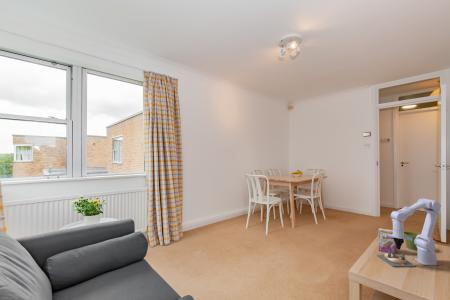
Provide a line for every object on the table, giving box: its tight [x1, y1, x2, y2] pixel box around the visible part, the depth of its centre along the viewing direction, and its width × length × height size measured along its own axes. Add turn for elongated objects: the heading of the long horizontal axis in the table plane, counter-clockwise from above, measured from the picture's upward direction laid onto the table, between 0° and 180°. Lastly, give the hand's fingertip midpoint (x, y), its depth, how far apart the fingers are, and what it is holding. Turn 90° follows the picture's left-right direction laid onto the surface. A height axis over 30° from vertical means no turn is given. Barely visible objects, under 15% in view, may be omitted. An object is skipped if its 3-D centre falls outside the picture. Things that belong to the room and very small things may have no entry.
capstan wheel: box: [384, 248, 407, 264], centre depth 149 cm, size 12×12×6 cm
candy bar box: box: [377, 227, 398, 254], centre depth 163 cm, size 11×5×16 cm, turn 58°
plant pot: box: [404, 230, 421, 251], centre depth 168 cm, size 12×12×11 cm
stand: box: [376, 254, 416, 268], centre depth 149 cm, size 15×15×1 cm
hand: (398, 249), depth 145 cm, fingers closed
